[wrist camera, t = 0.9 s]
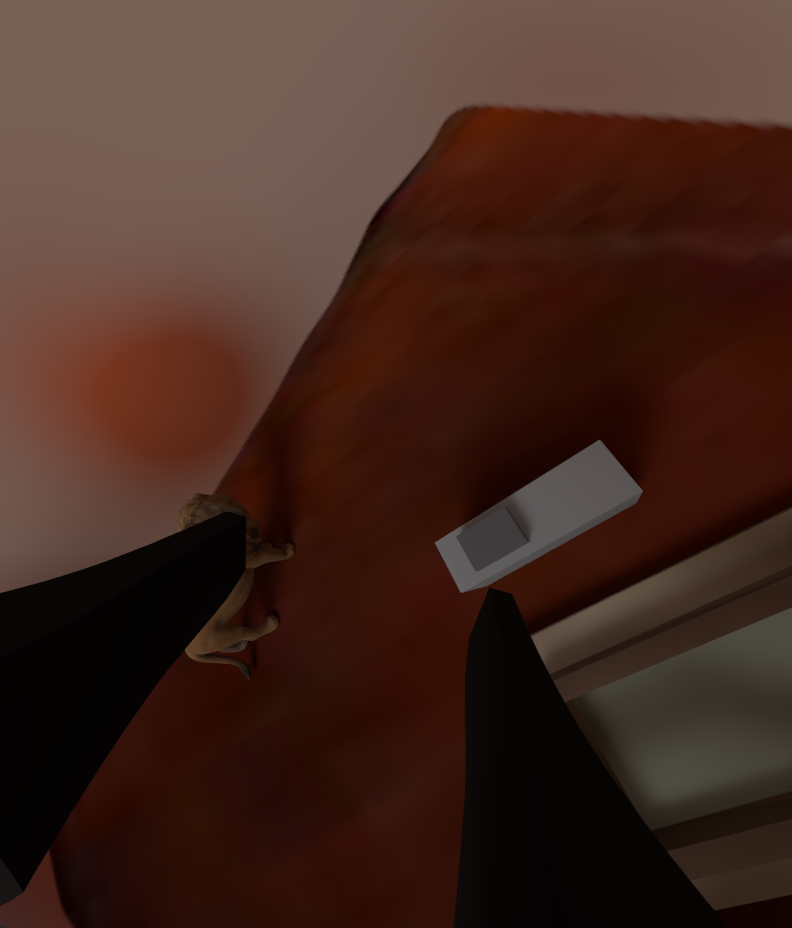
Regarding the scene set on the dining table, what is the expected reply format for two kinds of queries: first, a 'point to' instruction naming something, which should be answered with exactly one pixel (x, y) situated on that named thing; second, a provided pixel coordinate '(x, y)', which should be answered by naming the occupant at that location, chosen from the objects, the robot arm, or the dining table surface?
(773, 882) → the cradle jig
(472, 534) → the grey pillar with nub
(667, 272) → the dining table surface
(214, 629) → the lion figurine
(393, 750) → the dining table surface
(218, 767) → the dining table surface
